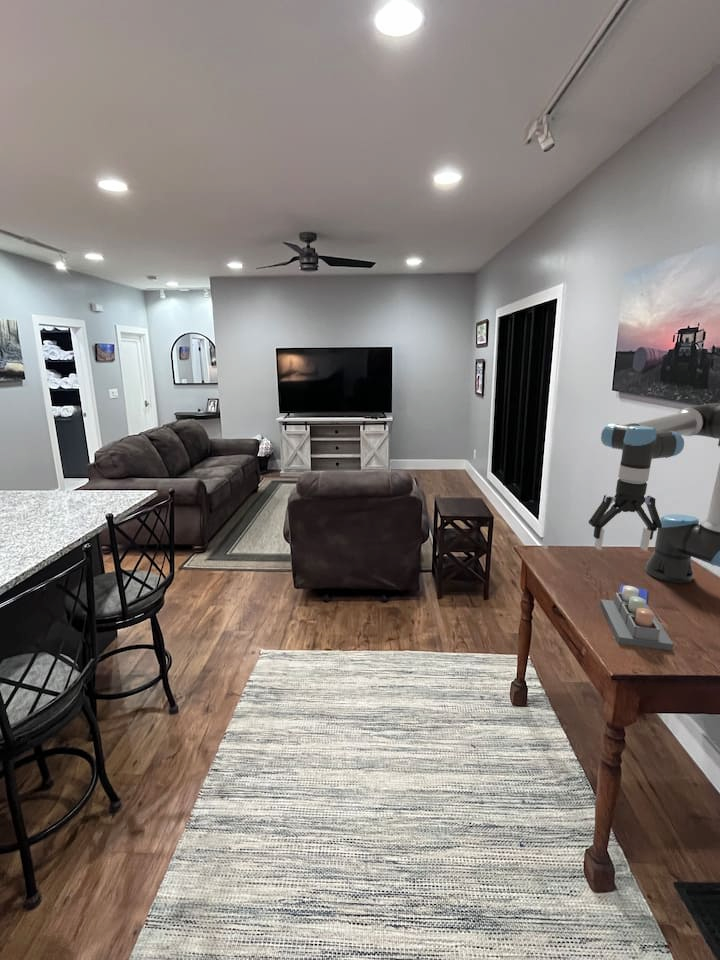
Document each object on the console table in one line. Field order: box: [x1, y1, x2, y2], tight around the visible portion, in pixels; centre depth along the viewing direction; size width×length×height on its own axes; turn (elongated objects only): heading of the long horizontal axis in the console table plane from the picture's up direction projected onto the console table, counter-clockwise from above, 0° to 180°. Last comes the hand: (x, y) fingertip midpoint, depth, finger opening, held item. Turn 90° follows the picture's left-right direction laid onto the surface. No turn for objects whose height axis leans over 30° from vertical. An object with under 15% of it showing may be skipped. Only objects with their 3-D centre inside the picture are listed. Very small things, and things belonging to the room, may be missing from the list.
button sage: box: [628, 596, 646, 614], centre depth 144 cm, size 4×4×4 cm
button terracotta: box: [635, 608, 655, 628], centre depth 138 cm, size 4×4×4 cm
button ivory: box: [621, 585, 639, 602], centre depth 151 cm, size 4×4×4 cm
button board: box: [599, 592, 674, 651], centre depth 146 cm, size 14×22×6 cm, turn 167°
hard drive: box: [619, 583, 648, 605], centre depth 163 cm, size 2×8×12 cm
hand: (620, 548), depth 143 cm, fingers open, 13 cm apart
